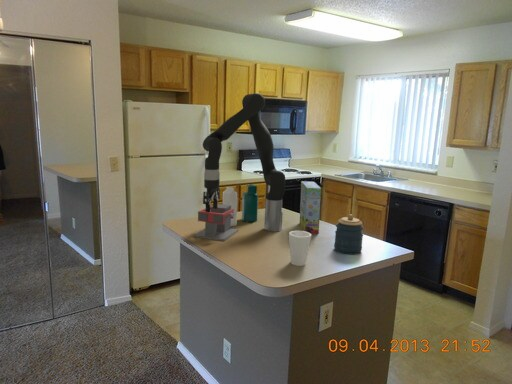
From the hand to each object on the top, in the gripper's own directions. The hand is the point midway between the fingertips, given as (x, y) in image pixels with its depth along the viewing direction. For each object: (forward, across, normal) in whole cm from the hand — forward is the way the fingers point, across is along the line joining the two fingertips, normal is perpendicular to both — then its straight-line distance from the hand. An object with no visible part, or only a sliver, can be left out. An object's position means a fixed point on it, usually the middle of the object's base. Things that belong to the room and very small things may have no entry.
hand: (211, 210), depth 191 cm
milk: (+15, +26, +1) cm, 30 cm away
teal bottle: (+15, +41, -6) cm, 44 cm away
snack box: (+15, +40, -42) cm, 60 cm away
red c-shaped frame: (+6, +6, 0) cm, 9 cm away
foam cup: (+15, -16, -49) cm, 53 cm away
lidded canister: (+15, +11, -67) cm, 69 cm away
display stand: (+14, +7, 0) cm, 16 cm away
